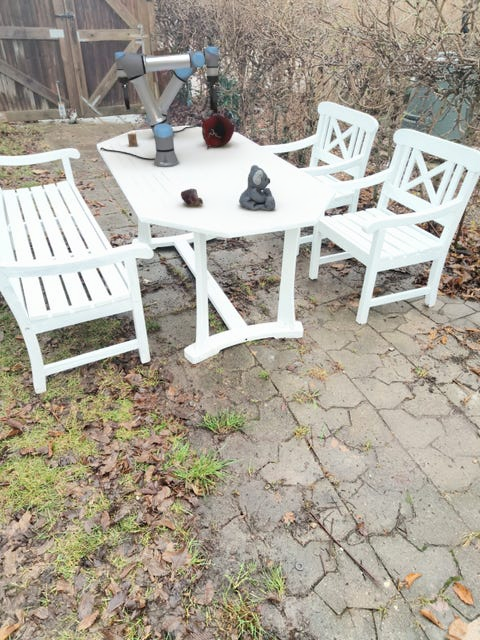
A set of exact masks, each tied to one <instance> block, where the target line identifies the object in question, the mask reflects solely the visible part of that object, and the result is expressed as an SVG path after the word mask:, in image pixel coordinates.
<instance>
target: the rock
mask: <svg viewBox="0 0 480 640" xmlns="http://www.w3.org/2000/svg"><path fill="white" fill-rule="evenodd" d="M180 197H181V200H182V201H183V202H184V203H185V205H187V206H189V207H191V206H192V207H193V206H201V205H203V204H204V202H203V199H202V197H199V195H198V190H197V189H196V188H188V189H185V190H181V192H180Z"/></svg>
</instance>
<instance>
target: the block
mask: <svg viewBox="0 0 480 640" xmlns="http://www.w3.org/2000/svg"><path fill="white" fill-rule="evenodd" d="M127 140H128V147H129V148H133V147H134V148H135V147H138V140H137V133H135V132H134V133H127Z"/></svg>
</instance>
